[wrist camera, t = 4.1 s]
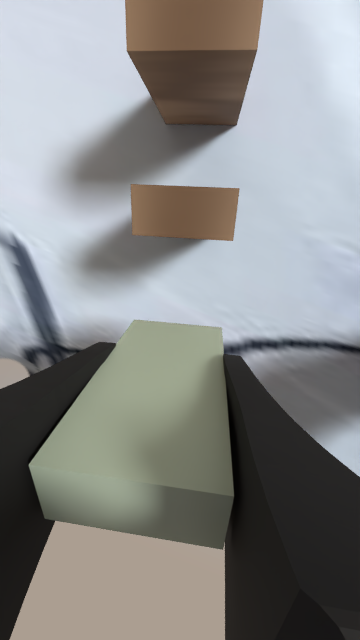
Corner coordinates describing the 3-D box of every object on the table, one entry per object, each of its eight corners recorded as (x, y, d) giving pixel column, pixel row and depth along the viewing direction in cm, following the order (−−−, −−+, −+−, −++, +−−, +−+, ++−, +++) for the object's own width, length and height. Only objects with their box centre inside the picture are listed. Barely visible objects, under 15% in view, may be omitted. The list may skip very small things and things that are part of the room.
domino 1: (241, 83, 13) (268, -42, 7) (236, 125, 14) (257, 49, 7) (167, 83, 14) (123, -35, 7) (166, 124, 14) (126, 50, 8)
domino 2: (228, 198, 15) (239, 188, 9) (225, 229, 16) (232, 240, 10) (165, 195, 16) (130, 184, 9) (164, 225, 17) (132, 235, 10)
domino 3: (221, 327, 11) (233, 496, 5) (217, 361, 12) (223, 549, 5) (134, 319, 11) (28, 464, 5) (135, 353, 12) (44, 518, 6)
